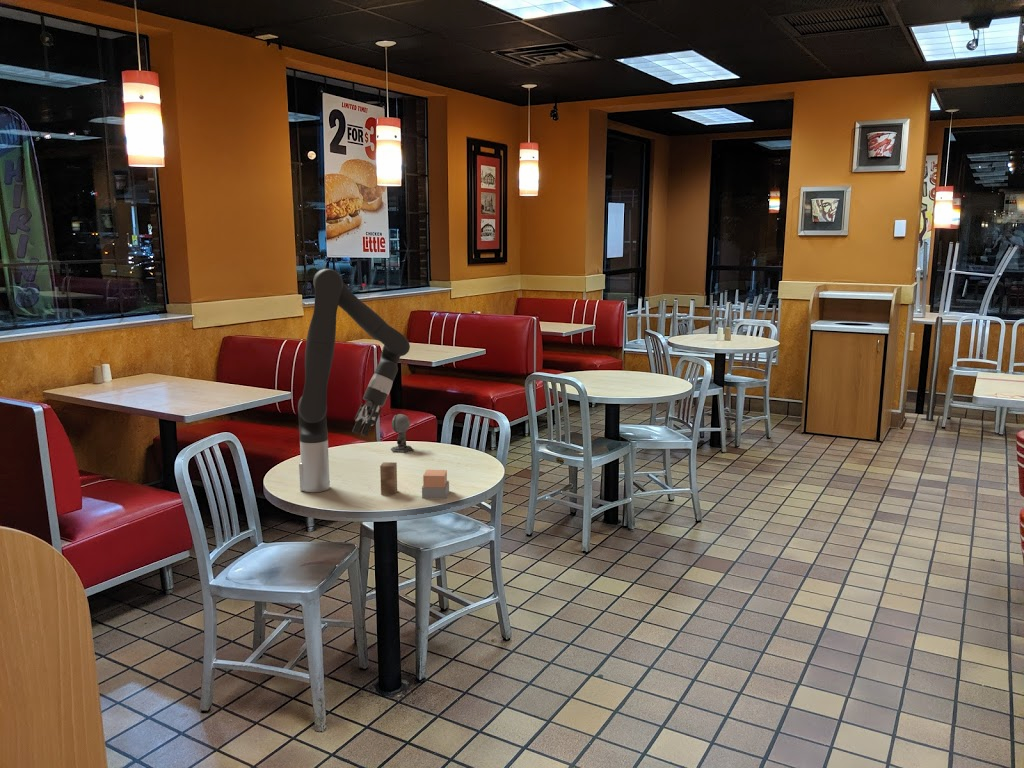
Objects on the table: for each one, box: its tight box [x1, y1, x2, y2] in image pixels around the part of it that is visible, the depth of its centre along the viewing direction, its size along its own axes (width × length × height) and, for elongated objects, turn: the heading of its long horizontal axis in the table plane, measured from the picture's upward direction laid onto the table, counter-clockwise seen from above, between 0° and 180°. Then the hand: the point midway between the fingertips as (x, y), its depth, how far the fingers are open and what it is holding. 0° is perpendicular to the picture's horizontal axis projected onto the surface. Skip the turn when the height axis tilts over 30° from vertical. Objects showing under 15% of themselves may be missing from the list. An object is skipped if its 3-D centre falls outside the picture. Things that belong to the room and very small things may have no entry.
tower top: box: [422, 469, 448, 488], centre depth 258 cm, size 7×7×4 cm
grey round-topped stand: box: [390, 413, 415, 454], centre depth 314 cm, size 9×10×15 cm
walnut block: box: [379, 461, 398, 496], centre depth 260 cm, size 5×5×10 cm
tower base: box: [421, 480, 450, 499], centre depth 259 cm, size 8×8×4 cm
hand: (359, 434), depth 259 cm, fingers open, 8 cm apart
